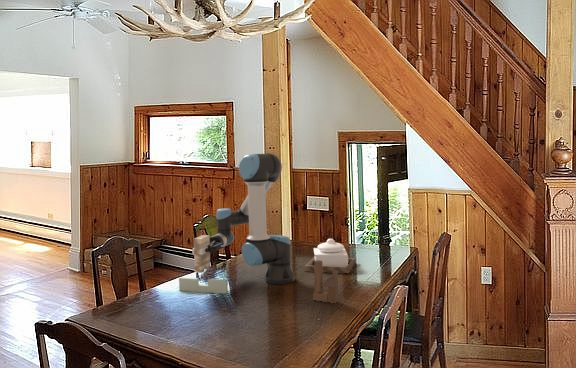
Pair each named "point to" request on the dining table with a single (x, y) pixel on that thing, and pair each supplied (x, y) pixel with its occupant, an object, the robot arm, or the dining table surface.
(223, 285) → the notched rail
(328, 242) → the butter dish
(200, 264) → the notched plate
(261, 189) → the robot arm
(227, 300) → the dining table surface
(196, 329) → the dining table surface
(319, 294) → the wooden block
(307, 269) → the dish tray rim
